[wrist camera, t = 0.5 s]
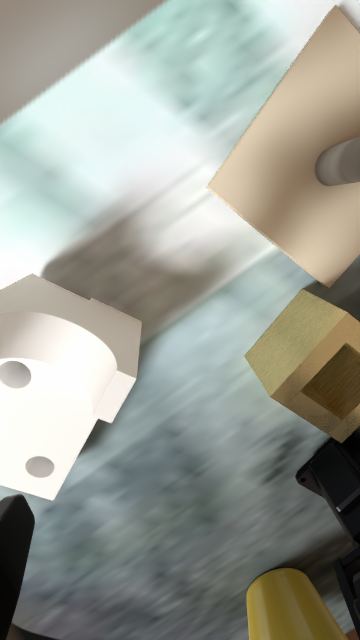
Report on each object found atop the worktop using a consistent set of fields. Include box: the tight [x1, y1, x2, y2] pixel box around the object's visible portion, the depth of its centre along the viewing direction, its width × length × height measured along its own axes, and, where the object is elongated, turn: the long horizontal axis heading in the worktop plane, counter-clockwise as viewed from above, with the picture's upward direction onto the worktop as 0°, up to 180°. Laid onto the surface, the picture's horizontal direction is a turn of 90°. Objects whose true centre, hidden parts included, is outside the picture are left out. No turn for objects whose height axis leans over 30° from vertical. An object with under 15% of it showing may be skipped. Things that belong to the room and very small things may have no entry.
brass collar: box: [245, 289, 360, 443], centre depth 19 cm, size 6×6×5 cm
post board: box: [206, 5, 360, 288], centre depth 15 cm, size 10×10×6 cm
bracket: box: [0, 274, 142, 500], centre depth 18 cm, size 13×7×8 cm, turn 151°
